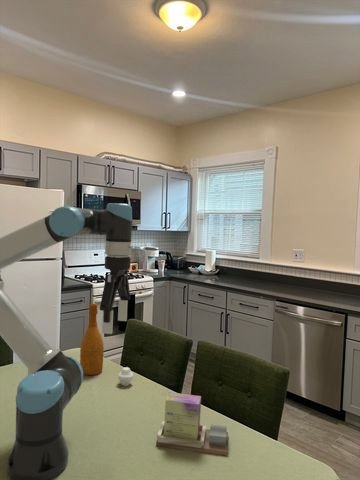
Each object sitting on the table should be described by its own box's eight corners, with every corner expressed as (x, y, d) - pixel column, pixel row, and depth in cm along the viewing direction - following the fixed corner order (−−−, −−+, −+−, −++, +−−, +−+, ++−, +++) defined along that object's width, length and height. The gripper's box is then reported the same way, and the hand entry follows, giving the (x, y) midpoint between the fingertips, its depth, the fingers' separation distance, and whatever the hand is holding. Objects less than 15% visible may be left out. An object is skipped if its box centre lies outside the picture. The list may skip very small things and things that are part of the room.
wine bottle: (107, 370, 159) (109, 303, 157) (91, 378, 150) (93, 307, 149) (91, 365, 164) (93, 300, 163) (74, 372, 156) (77, 303, 154)
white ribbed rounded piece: (130, 388, 143) (131, 371, 143) (115, 386, 144) (116, 369, 144) (134, 381, 149) (135, 365, 149) (120, 380, 150) (121, 363, 150)
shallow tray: (227, 455, 104) (227, 441, 104) (156, 445, 107) (156, 432, 107) (227, 435, 114) (228, 422, 113) (162, 427, 117) (163, 414, 117)
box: (199, 432, 113) (201, 395, 112) (197, 442, 107) (199, 404, 107) (167, 427, 115) (168, 391, 114) (163, 438, 109) (165, 400, 108)
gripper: (116, 260, 94) (113, 340, 95) (141, 253, 118) (138, 317, 119) (89, 258, 95) (86, 338, 96) (119, 252, 119) (116, 315, 120)
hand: (115, 326), depth 107 cm, fingers open, 13 cm apart
